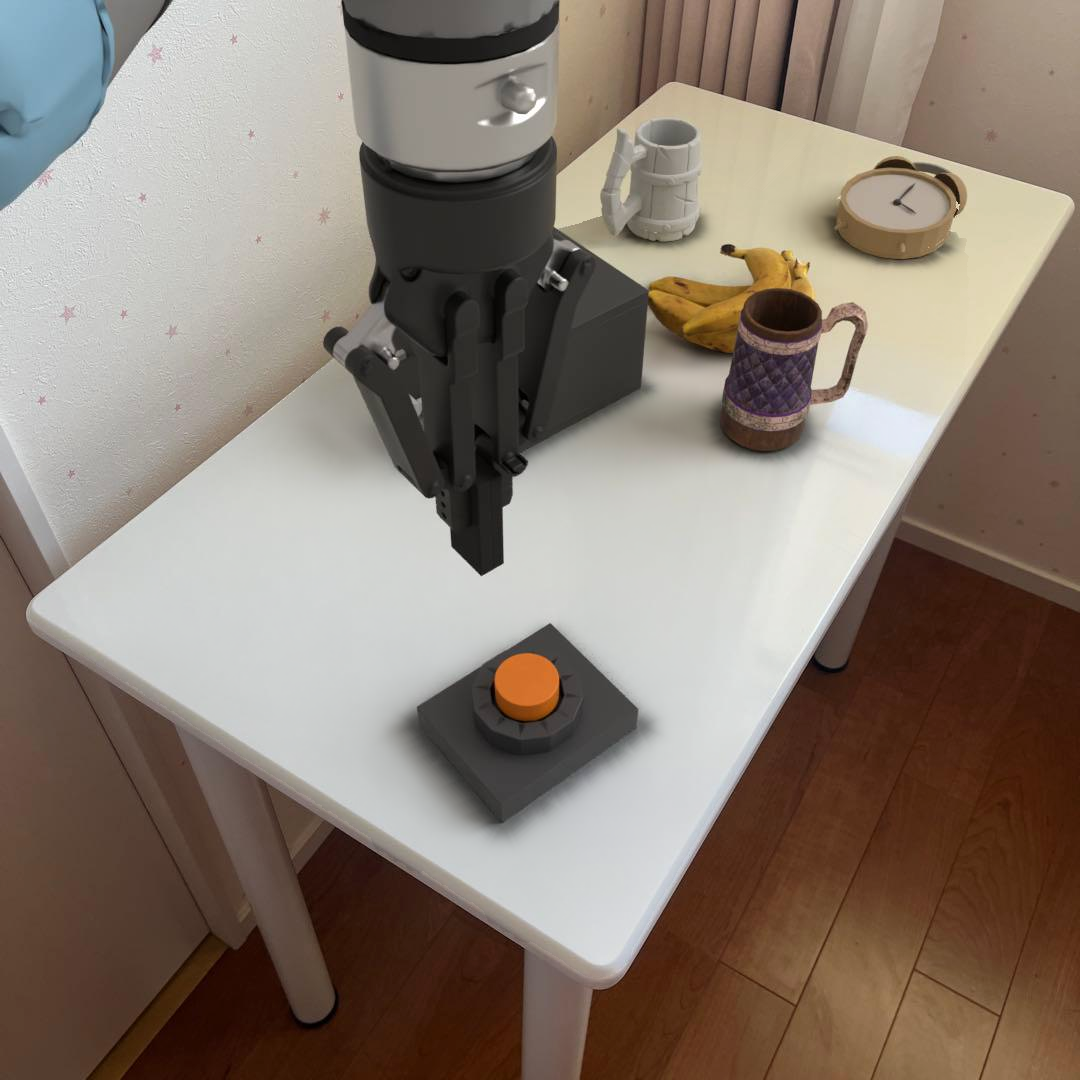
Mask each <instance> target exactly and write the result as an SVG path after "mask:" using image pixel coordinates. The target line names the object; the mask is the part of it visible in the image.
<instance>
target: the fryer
mask: <svg viewBox="0 0 1080 1080" xmlns="http://www.w3.org/2000/svg"><path fill="white" fill-rule="evenodd" d="M552 233H558V234H560V235H561V236H563V237H564V238H566V239H567V240H569V241H570V242H572V243H573V244H575V245H576V246H578V247H579V248H581V249H582V250H583V251H585V252H586V253H588V254H589V255H591V256H592V257H593V258H595V261H596V267H595V269H594V272H593V274H592V276H591V278H590V280H589V282H588V284H587V286H586V288H585V290H584V292H583V294H582V296H581V298H580V300H579V302H578V304H577V307H576V311H575V315H574V319H573V323H572V327H571V332H570V336H569V340H568V344H567V348H566V353H565V357H564V361H563V365H562V369H561V374H560V378H559V382H558V386H557V390H556V394H555V399H554V403H553V407H552V411H551V415H550V420H549V424H548V428H547V431H546V434H545V435H544V437H543V438H542V439H541V440H540V441H538V442H536V443H531V442H529V441H528V440H527V441H526V442H525V443H524V444H523V445H522V446H520V447H519V453H520V454H521V453H523V452H524V451H526V450H528V449H530V448H531V447H533V446H535V445H537V444H539V443H541V442H543V441H545V440H546V439H548V438H550V437H552V436H554V435H556V434H557V433H559V432H562V431H563V430H565V429H567V428H569V427H570V426H572V425H575V424H576V423H578V422H580V421H581V420H583V419H585V418H587V417H589V416H591V415H593V414H594V413H596V412H598V411H601V410H603V409H604V408H606V407H607V406H609V405H612V404H614V403H615V402H617V401H619V400H621V399H623V398H624V397H626V396H628V395H630V394H632V393H634V392H635V391H637V390H639V389H641V388H642V378H643V368H644V355H645V344H646V331H647V319H648V308H649V306H648V295H649V291H650V290H649V289H647V288H646V287H645V286H643V285H641V284H640V283H639V282H637V281H635V280H634V279H632V278H631V277H630V276H628V275H627V274H625V273H624V272H622V271H621V270H619V269H618V268H617V267H614V266H613V265H612V264H611V263H609V262H607V261H606V260H605V259H603V258H601V257H600V256H598V255H597V254H595V253H594V252H593V251H591V250H590V249H588V248H587V247H586V246H583V245H582V244H581V243H579V242H577V241H576V240H575V239H574V238H572V237H570V236H568V235H567V234H566V233H564V232H562V231H561V230H559V229H558V228H557V227H555V226H554V227H553V230H552ZM528 404H529V403H528V402H527V401H524V406H526V407H527V408H528Z"/></svg>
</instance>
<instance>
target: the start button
mask: <svg viewBox="0 0 1080 1080" xmlns="http://www.w3.org/2000/svg"><path fill="white" fill-rule="evenodd" d="M494 682H495V698H496V702H497V705H498V707H499V708H500V709H501V711H502V712H503V713H504V714H506V715H507V716H508V717H510V718H512V719H515V720H519V721H535V720H539V719H541V718H543V717H545V716H547V715H548V714H549V713H551V712H552V711H553V709H554V708H555V706H556V705H557V702H558V699H559V675H558V672H557V669H556V668H555V666H554V665H553V664H552V663H551V662H550V661H549V660H548V659H546V658H544V657H542V656H540V655H537V654H531V653H523V654H518V655H514V656H512V657H510V658H508V659H506V660H505V661H504V662H503V663H502V664H501V665H500V666H499V667H498V669H497V671H496V674H495V679H494Z"/></svg>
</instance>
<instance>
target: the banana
mask: <svg viewBox="0 0 1080 1080" xmlns="http://www.w3.org/2000/svg"><path fill="white" fill-rule="evenodd" d="M719 254H721V255H724V256H728V257H730V258H733V259H740V260H742V261H744V262H745V265H746V266H747V267H746V268H747V269H748V271H749V273H750V275H751V277H752V284H749V285H735V286H734V285H718V284H710V283H706V282H705V283H704V282H699V281H696V280H691V279H687V278H683V277H680V276H679V277H678V276H665V277H662V278H659V279H656V280H654V281H652V282H650V283H649V284H648V285H649V286H648V290H649V295H648V308H649V309H650V310H651V312H652V314H653V315H654V317H655V318H656V320H657V321H658V322H659V323H660V324H661V325H662V326H663V327H664V328H666V329H667V330H669V332H671V333H673V334H675V335H677V336H679V337H680V338H682V339H684V340H687V341H688V342H690V343H693V344H695V345H699V346H701V347H704V348H706V349H709V350H713V351H716V352H717V351H718V352H723V353H727V354H728V353H729V354H733V352H734V347H735V342H736V337H737V332H738V323H739V318H740V313H741V310H742V309H743V306H744V303H745V301H746V300H747V299H748V297H749V296H751V295H753V294H754V293H756V292H758V291H762V290H765V289H771V288H784V289H791V290H795V291H798V292H802V293H803V294H805V295H807V296H809V297H811V298H812V299H813V300H814V301H815V302H816V295H815V294H816V293H815V290H814V288H813V285H812V283H811V282H810V280H809V278H808V276H807V275H808V272H809V269H810V266H811V265H810V264H811V262H810V261H802V262H801V261H800V260H799V259H798V258H794V257H793V256H794V255H793V251H792V250H785V249H784V250H782V251H781V253H779V252H777V251H776V250H774V249H771V248H770V247H769V248H768V247H754V248H748V249H741V248H738V247H736V246H735V245H734V244H732V243H726V244H723V245H721V247H720V252H719Z"/></svg>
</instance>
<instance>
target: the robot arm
mask: <svg viewBox="0 0 1080 1080" xmlns="http://www.w3.org/2000/svg"><path fill="white" fill-rule="evenodd" d="M173 1H174V0H0V212H1V211H3V210H5V209H6V208H7V207H8V206H10V205H11V204H13V202H16V200H17V199H18V198H19V197H20V196H22V194H23V193H24V192H25V191H26V190H27V189H28V188H30V186H31V185H33V184H34V183H35V181H36V180H38V179H39V178H40V176H41V175H43V173H44V172H45V171H46V170H47V169H48V168H49V167H50V166H51V165H52V164H53V163H54V162H55V161H56V160H57V159H58V158H59V157H60V156H61V155H62V154H64V153H65V152H67V151H68V150H69V149H70V148H72V147H73V146H74V145H75V144H76V143H77V142H78V141H79V140H80V139H81V138H82V137H83V136H84V135H85V134H86V133H88V130H89V129H90V128H91V125H92V123H93V120H94V119H95V118H96V116H97V115H98V114H99V113H100V111H101V109H102V107H104V104H105V100H106V96H107V91H108V88H109V86H110V85H111V84H112V83H113V81H114V79H115V78H116V76H117V75H118V73H119V72H120V70H121V69H122V67H123V66H124V64H125V62H126V61H128V59H129V57H130V56H131V54H132V53H133V51H134V50H135V49H136V47H137V45H138V44H139V43H140V41H141V39H142V38H143V37H144V36H145V35H146V34H147V33H148V32H149V31H150V30H151V29H152V28H153V27H154V25H156V23H157V22H158V21H159V20H160V18H162V16H163V15H164V14H165V12H166V11H167V10H168V8H169V7H170V6H171V4H172V3H173ZM560 2H561V1H560V0H340V3H341V9H342V21H343V26H344V35H345V44H346V53H347V54H346V55H347V64H348V74H349V83H350V93H351V102H352V112H353V121H354V127H355V131H356V135H357V137H358V138H359V139H360V140H361V144H360V147H359V151H358V157H359V166H360V174H361V183H362V191H363V192H362V193H363V200H364V209H365V218H366V226H367V231H368V234H369V238H370V241H371V243H372V244H371V245H372V248H373V252H374V256H375V257H374V258H375V262H374V269H373V273H372V275H371V279H370V281H369V285H368V299H369V302H370V303H371V305H370V306H369V307H368V309H367V310H366V311H365V312H364V313H363V314H362V316H361V317H360V318H359V319H358V320H357V322H355V324H354V325H353V326H352V327H351V328H350V330H348V329H347V328H345V327H343V326H334V327H332V328H330V330H328V332H326V334H325V335H324V336H323V341H322V345H323V348H324V350H325V351H326V352H327V353H328V354H329V355H330V356H331V357H332V358H333V359H335V360H336V361H337V362H338V363H339V364H340V365H341V366H342V367H343V368H344V369H345V370H346V371H347V372H348V373H349V374H350V375H352V377H353V380H354V382H355V384H356V387H357V388H358V390H359V393H360V395H361V397H362V399H363V401H364V403H365V405H366V407H367V410H368V412H369V414H370V416H371V418H372V421H373V423H374V425H375V427H376V430H377V431H378V434H379V436H380V438H381V440H382V442H383V444H384V447H385V450H386V451H387V453H388V456H389V458H390V459H391V462H392V464H393V466H394V468H395V469H396V470H397V471H398V472H399V473H400V474H401V476H403V477H404V478H405V479H406V480H407V481H408V482H409V483H410V484H411V485H412V486H413V487H414V488H415V489H417V491H418V492H419V493H420V494H421V495H422V496H423V497H425V499H434V498H435V511H436V514H437V516H438V517H439V518H440V519H441V521H443V522H444V523H445V524H446V525H447V526H448V527H449V535H450V547H451V548H452V549H453V550H454V551H455V552H456V553H457V554H458V555H459V556H460V557H461V558H462V559H463V560H464V561H465V562H466V563H467V564H468V565H469V566H470V567H471V568H472V569H473V570H474V571H475V572H476V573H477V574H478V575H479V576H480V577H483V576H485V575H487V574H488V573H490V572H491V571H494V570H495V569H497V568H498V567H501V566H502V565H504V564H505V559H504V558H505V555H504V551H505V550H504V549H505V548H504V509H503V508H504V507H506V506H508V505H510V504H511V502H512V500H513V499H512V498H513V495H514V487H513V485H514V484H513V483H514V482H513V479H514V478H515V477H518V476H520V475H521V474H523V473H524V471H525V470H526V469H527V466H528V465H529V460H528V459H527V458H525V457H524V456H523V455H522V454H521V452H520V453H519V447H520V446H522V445H523V444H524V443H525V442H526V441H527V440H528V441H529V442H531V443H536V442H538V441H540V440H541V439H542V438H543V437H544V435H545V434H546V431H547V428H548V424H549V420H550V415H551V411H552V407H553V403H554V399H555V394H556V390H557V386H558V382H559V378H560V374H561V369H562V365H563V361H564V357H565V353H566V348H567V344H568V340H569V336H570V332H571V327H572V323H573V319H574V315H575V311H576V307H577V304H578V302H579V300H580V298H581V296H582V294H583V292H584V290H585V288H586V286H587V284H588V282H589V280H590V278H591V276H592V274H593V272H594V269H595V267H596V261H595V258H593V257H592V256H591V255H589V254H588V253H586V252H585V251H583V250H582V249H581V248H579V247H578V246H576V245H575V244H573V243H572V242H570V241H569V240H567V239H566V238H564V237H563V236H561V235H560V234H558V233H552V230H553V227H555V223H556V215H557V214H556V213H557V176H558V175H557V174H558V173H557V171H558V147H557V143H556V141H555V139H554V137H553V135H554V132H555V129H556V126H557V123H558V110H559V109H558V108H559V107H558V104H559V65H560V63H559V62H560V61H559V57H560ZM396 328H398V329H399V330H400V331H401V332H403V333H404V334H405V335H406V336H408V337H409V338H410V342H411V346H412V348H413V350H414V352H415V354H416V355H417V358H418V366H419V378H420V390H421V401H422V411H421V414H422V422H423V424H422V422H421V421H420V418H419V417H420V416H419V417H418V415H417V412H416V410H415V408H414V405H413V403H412V400H411V398H410V395H409V393H408V390H407V388H406V386H405V384H404V382H403V381H402V379H401V378H400V377H399V375H397V374H396V373H395V372H394V371H393V370H395V369H396V368H397V367H398V366H399V362H400V361H399V359H398V358H397V357H396V347H395V346H394V344H393V339H392V338H393V334H394V331H395V330H396ZM524 401H527V402H528V403H529V404H528V408H527V407H526V406H524ZM475 444H476V451H475Z"/></svg>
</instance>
